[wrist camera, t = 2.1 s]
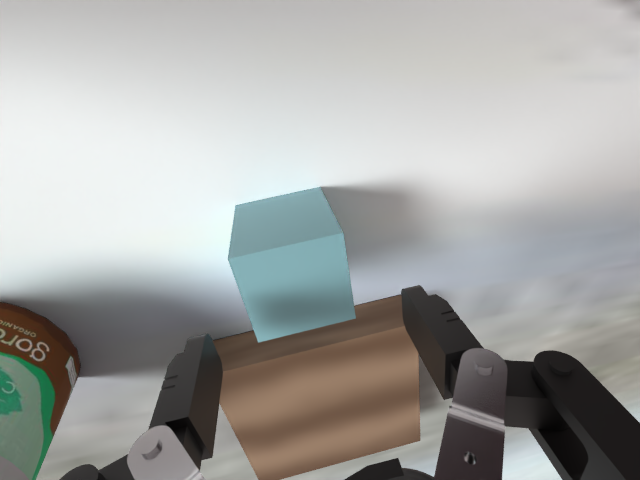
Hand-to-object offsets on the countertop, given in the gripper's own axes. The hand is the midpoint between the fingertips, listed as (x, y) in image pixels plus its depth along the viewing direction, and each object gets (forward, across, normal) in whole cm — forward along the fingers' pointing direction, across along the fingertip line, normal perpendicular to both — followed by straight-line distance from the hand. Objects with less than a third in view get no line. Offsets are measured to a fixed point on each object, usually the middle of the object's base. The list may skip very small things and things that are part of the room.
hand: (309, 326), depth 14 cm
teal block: (+8, 0, 0) cm, 8 cm away
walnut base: (+8, 0, +14) cm, 16 cm away
